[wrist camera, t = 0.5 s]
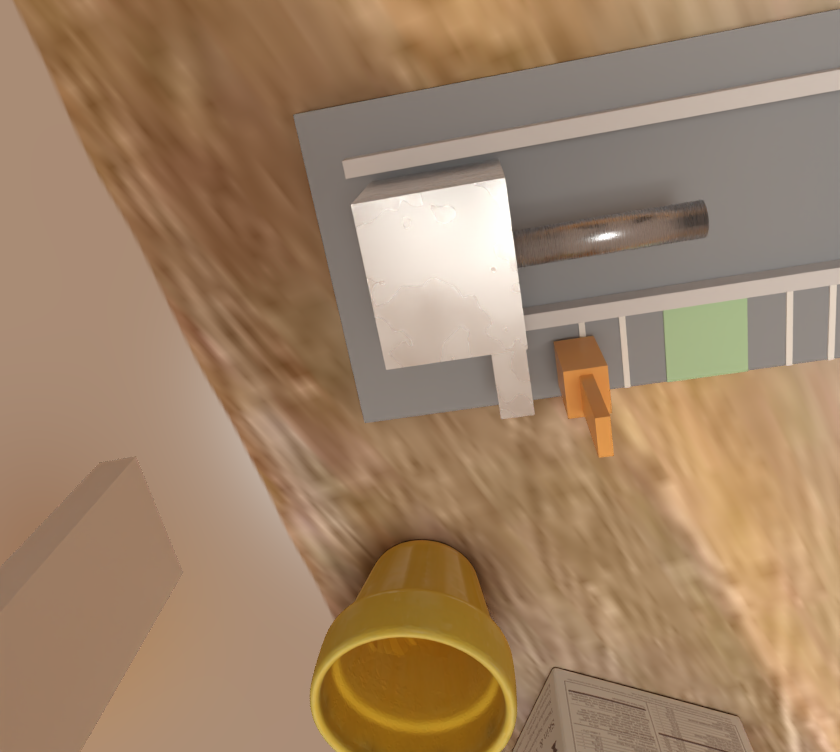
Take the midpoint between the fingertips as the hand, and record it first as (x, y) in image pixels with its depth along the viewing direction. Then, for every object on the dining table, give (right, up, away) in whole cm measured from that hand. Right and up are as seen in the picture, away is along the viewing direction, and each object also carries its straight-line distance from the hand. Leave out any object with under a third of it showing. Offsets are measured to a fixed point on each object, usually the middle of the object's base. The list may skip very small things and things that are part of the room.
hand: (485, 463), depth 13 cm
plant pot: (-1, -11, +32) cm, 34 cm away
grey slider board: (+10, +9, +22) cm, 26 cm away
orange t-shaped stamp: (+7, +2, +24) cm, 25 cm away
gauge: (+4, +6, +22) cm, 23 cm away
